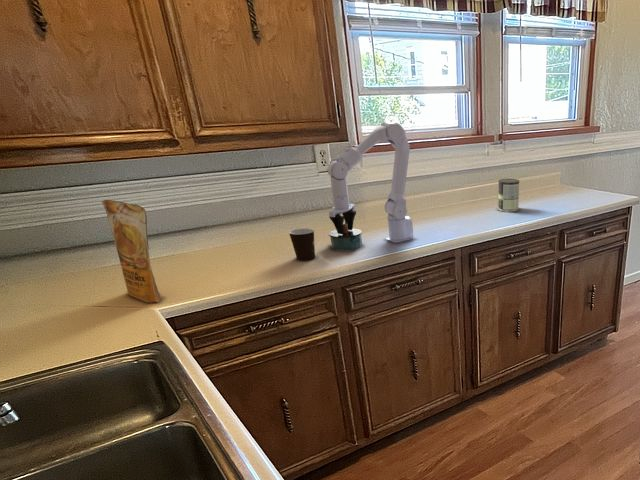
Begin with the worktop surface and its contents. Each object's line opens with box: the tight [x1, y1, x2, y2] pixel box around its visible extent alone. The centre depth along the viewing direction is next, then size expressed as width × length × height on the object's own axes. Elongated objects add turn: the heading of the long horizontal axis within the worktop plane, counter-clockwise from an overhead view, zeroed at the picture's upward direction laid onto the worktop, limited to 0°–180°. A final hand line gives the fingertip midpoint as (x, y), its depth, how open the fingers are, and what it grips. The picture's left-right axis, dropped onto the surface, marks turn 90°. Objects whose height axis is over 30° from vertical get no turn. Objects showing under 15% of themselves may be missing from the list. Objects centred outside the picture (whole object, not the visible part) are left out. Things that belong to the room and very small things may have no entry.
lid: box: [328, 222, 363, 238], centre depth 200 cm, size 13×13×5 cm
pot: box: [329, 234, 363, 251], centre depth 202 cm, size 12×17×5 cm
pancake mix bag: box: [101, 199, 162, 304], centre depth 152 cm, size 7×19×28 cm, turn 56°
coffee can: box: [497, 178, 520, 213], centre depth 257 cm, size 10×10×14 cm
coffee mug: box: [288, 227, 316, 262], centre depth 190 cm, size 12×9×10 cm
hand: (345, 231), depth 200 cm, fingers open, 6 cm apart
